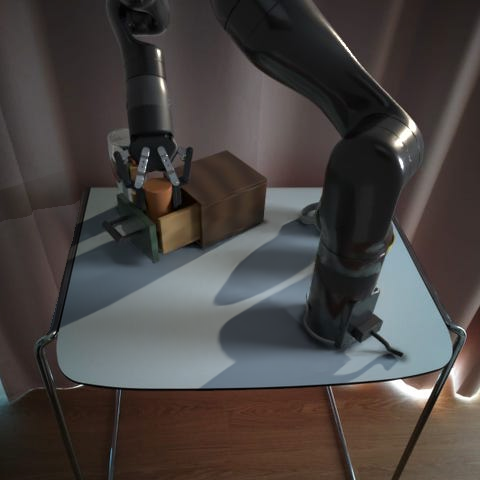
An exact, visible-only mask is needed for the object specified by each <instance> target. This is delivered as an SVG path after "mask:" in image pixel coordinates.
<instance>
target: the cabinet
mask: <svg viewBox="0 0 480 480" xmlns="http://www.w3.org/2000/svg"><path fill="white" fill-rule="evenodd" d="M173 168H174V171H175V173H176V176H177V178H179V177H182V176H183V170H184V164H182V165H179V166H176V167H173ZM162 176H163V177H162V178H165V179H167V180H169V179H168V177H167V175H166V173H165V171H164V172H162ZM267 186H268V178H267V177H265V175H263V174H262V173H260V172H259V171H258V170H256V169H254V168H253V167H252V166H250V165H249V164H247V163H246V162H245V161H243V160H242V159H240V158H239V157H238V156H236V155H235V154H233V152H231V151H229V150H227V149H226V150H223V151H219V152H217V153H214V154H211V155H208V156H205V157H202V158H199V159H196V160H194V161H193V160H192V164H191V171H190V178H189V183H188V184H187V185H183V186H181V187H180V190H181V191H182V192H183V193H184V194H185V195H187V196H188V197H189V198H190V199H191V200H193V201H194V202H195V203H196V204H197V205H198V206H199V217H200V239H199V240H196V241H194V242H195V243H196V245H198V246H199V247H201V248H202V249H205V248H208V247H209V246H212V245H214V244H216V243H219V242H220V241H224V240H225V239H227V238H230V237H232V236H234V235H236V234H238V233H241V232H244V231H247V230H248V229H250V228H252V227H255V226H257V225H259V224H261V223H264V221H265V211H266V198H267Z"/></svg>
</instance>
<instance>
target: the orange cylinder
mask: <svg viewBox="0 0 480 480" xmlns="http://www.w3.org/2000/svg"><path fill="white" fill-rule="evenodd" d="M143 188H144V196H145V204H146V213H147V217H148V218H149V219H150V220H151V221H152V222H153V223H154V224H155V226H156V231H158V232H159V224H158V218H161V217H163V216H166V215H168V214H171V213H173V212H174V209H173V196H172V184H171V182H170V181H169V180H167V179H165V178H163V177H151V178H148V180H147V181H145V183H144V184H143Z"/></svg>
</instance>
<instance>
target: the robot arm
mask: <svg viewBox="0 0 480 480" xmlns="http://www.w3.org/2000/svg"><path fill="white" fill-rule="evenodd" d="M209 2H210V6H211V10H212V12H213V15H214V17H215V20H216V21H217V23H218V25H219V26H220V27H221V28H222V29H223V31H224V32H225V34H227V36H228V37H229V38H230V40H231V41H232V42H233V43H234V45H235V46H236V47H237V48H238V49H239V51H240V52H241V53H242V55H243V56H244V57H245V58H246V59H247V60H248V61H249V63H250V64H251V65H253V67H255V68H256V69H257V70H258V71H259V72H262V73H263V74H264V75H266V76H267V77H269V78H271V79H272V80H274V81H275V82H277V83H278V84H280V85H282V86H284V87H285V88H287V89H289V90H291V91H293V92H294V93H296V94H298V95H300V96H301V97H302V98H305V99H306V100H308V101H309V102H310V103H311V104H313V106H315V107H316V108H317V109H318V110H319V111H320V112H321V113H322V114H323V116H325V118H326V120H328V121H329V122H330V123H331V125H332V126H333V127H334V129H335V130H336V132H337V133H338V134H339V136H340V137H341V138H340V139H339V140H338V141H337V142H336V143H335V145H334V146H333V148H332V149H331V152H330V154H329V157H328V159H327V163H326V167H325V171H324V178H323V184H322V189H321V190H322V191H321V196H322V198H321V197H320V198H321V205H320V222H321V226H322V229H321V232H320V236H319V240H318V245H317V251H316V255H315V261H314V265H313V269H312V270H313V271H312V277H311V281H310V286H309V290H308V291H309V292H308V293H306V294H305V302H306V309H305V311H304V315H303V326H304V329H305V331H306V332H307V334H308V335H309V336H310V337H311V338H312V339H314V340H316V341H317V342H319V343H321V344H324V345H327V346H332V347H334V348H336V349H337V350H339V351H341V350H342V349H345V348H346V347H347V346H349V345H350V344H352V343H354V342H356V341H357V342H358V343H359V344H362V343H363V342H364V341H366V340H368V339H370V338H371V337H373V338H374V339H376V341H378V342H379V343H381V345H383V347H384V348H385V350H386V351H387V352H389V353H391V354H392V355H394V356H397V357H399V358H403V356H404V352H402V351H400V350H398V349H395V348H393V347H392V346H391V345H390V344H389V343H390V342H388V341H387V340H386V339H385V338H384V337H383V336H381V335H380V334H379V333H378V332H380V331H381V328H382V326H383V324H384V320H383V319H381V318H380V317H379V316H377V314H375V313H374V312H375V308H376V305H377V303H378V300H379V297H380V294H381V290H380V289H379V288H378V287H377V284H378V281H379V278H380V276H381V275H380V274H381V272H382V269H383V267H384V262H385V260H386V257H387V255H388V254H387V251H388V248H389V245H390V242H391V239H392V235H393V232H394V225H393V223H392V221H393V218H394V214H395V212H396V208H397V205H398V202H399V198H400V196H401V194H402V190H403V189H404V188H405V187H406V185H407V184H408V183H409V182H410V180H411V179H412V178H413V177H414V175H415V174H416V173H417V171H418V170H419V168H420V166H421V164H422V162H423V159H424V157H425V156H424V155H425V143H424V139H423V135H422V133H421V131H420V130H421V129H419V126H418V125H417V124H416V123H415V121H414V119H412V117H411V116H410V115H409V114H408V113H407V112H406V110H404V109H403V107H402V106H401V105H399V103H398V102H397V101H396V100H395V99H394V98H393V97H392V96H391V95H390V94H389V93H388V92H387V91H386V90H385V88H383V87H382V85H380V84H379V82H378V81H377V80H376V79H375V78H374V77H373V76H372V75H371V74H370V73H369V72H368V71H367V70H366V69H365V68H364V66H363V65H362V64H361V62H360V61H358V59H357V58H356V56H355V55H354V54H353V52H352V51H351V50H350V48H349V46H347V44H346V43H345V41H344V40H343V39H342V38H341V37H340V35H339V34H338V32H337V31H336V30H335V29H334V27H333V26H332V25H331V23H330V22H329V21H328V19H326V17H325V16H324V15H323V14H322V12H321V11H320V9H319V8H318V7H317V6H316V4H315V2H314V1H313V0H209ZM105 12H106V15H107V16H106V17H107V19H108V22H109V24H110V28H111V30H112V32H113V35H114V37H115V40H116V42H117V45H118V48H119V51H120V56H121V59H122V65H123V74H124V75H123V76H124V84H125V86H124V87H125V95H124V96H125V97H124V99H125V110H126V116H127V126H128V128H129V135H130V145H129V147H128V150H125V151H122V152H118V151H115V152H114V153H113V156H114V159H115V161H116V164H117V167H118V169H119V172H120V175H121V177H122V180H123V183H124V185H125V187H126V188H127V189H129V188H130V189H133V190H135V191H136V199H137V206H138V208H139V209H140V210H142V212H143V213H146V204H145V196H144V189H143V184H144V180H145V177H146V173H148V174H149V173H154V172H161V173H163V172H164V171H165V173H166V175H167V177H168V179H169V181H170V182H171V184H172V196H173V208H174V210H178V207H180V206H181V194H180V187H181V186H183V185H187V184H188V183H189V178H190V171H191V164H192V162H193V156H194V148H193V147H191V146H188V147H181V146H179V145H178V144H177V141H176V139H175V133H174V124H173V113H172V102H171V97H170V92H169V87H168V81H167V73H166V72H167V71H166V63H165V61H166V60H165V56H164V52H163V51H162V49H161V48H160V47H159V46H157V45H156V44H154V43H151V42H147V41H144V40H143V41H142V40H140V39H138V38H137V37H160V36H163V34H165V33H166V32H167V31H168V30H169V27H170V23H171V9H170V5H169V1H168V0H105ZM135 37H136V38H135ZM177 155H179V156H180V161H182V162H184V163H183V165H184V170H183V176H182V177H179V178H177V176H176V173H175V171H174V168H175V167H174V166H173V164H172V163H173V162H174V160H175V158H176V156H177ZM129 156H130V157H131V158H132V159H133V160H134V161H135V162H136V163H137V165H138V166H139V167H138V171H137V176H136V180H135V181H133V180H130V178H129V175H128V173H127V170H126V167H125V165H126V164H127V163H128V157H129ZM386 254H387V255H386Z"/></svg>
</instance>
